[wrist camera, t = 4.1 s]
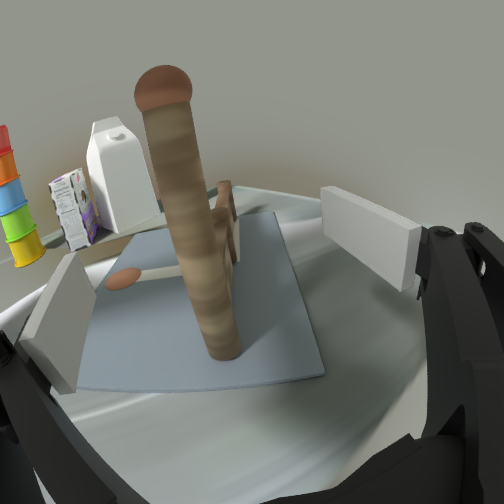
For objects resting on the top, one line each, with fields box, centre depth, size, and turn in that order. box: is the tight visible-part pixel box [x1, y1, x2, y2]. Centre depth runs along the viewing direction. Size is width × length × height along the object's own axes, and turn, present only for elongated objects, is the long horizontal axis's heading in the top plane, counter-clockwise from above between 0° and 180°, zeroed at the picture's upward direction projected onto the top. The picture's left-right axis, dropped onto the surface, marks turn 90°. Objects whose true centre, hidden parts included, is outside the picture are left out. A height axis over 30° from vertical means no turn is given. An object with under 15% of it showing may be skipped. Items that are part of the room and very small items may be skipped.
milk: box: [87, 116, 160, 234], centre depth 60 cm, size 12×12×26 cm
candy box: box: [48, 168, 99, 252], centre depth 56 cm, size 14×6×16 cm, turn 22°
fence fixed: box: [211, 180, 237, 264], centre depth 44 cm, size 2×18×7 cm, turn 3°
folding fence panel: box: [134, 65, 242, 361], centre depth 25 cm, size 16×4×22 cm, turn 3°
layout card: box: [76, 211, 325, 393], centre depth 38 cm, size 28×38×1 cm
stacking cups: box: [0, 125, 46, 268], centre depth 48 cm, size 10×10×35 cm
